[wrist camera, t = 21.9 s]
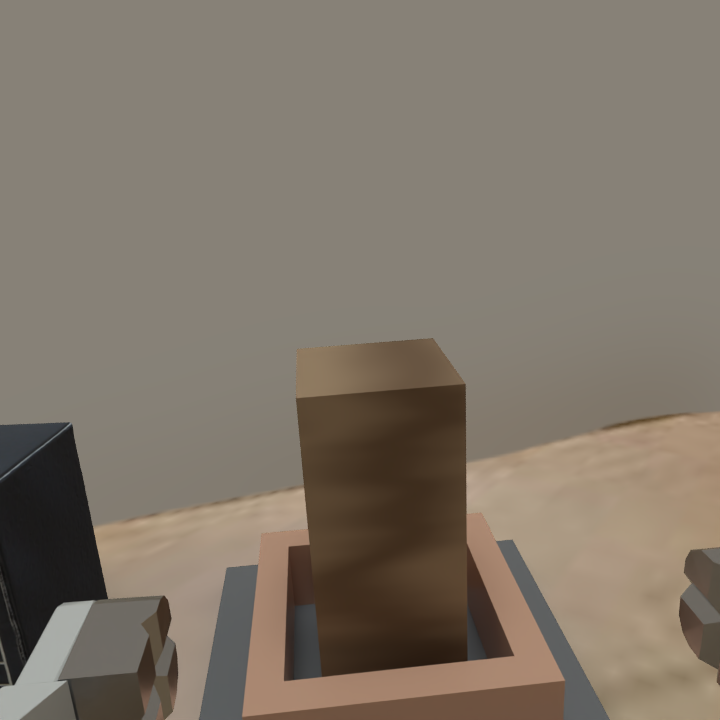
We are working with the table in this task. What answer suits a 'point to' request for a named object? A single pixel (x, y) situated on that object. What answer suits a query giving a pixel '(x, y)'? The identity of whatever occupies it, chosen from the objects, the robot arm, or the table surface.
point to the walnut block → (385, 503)
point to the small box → (41, 537)
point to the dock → (397, 686)
